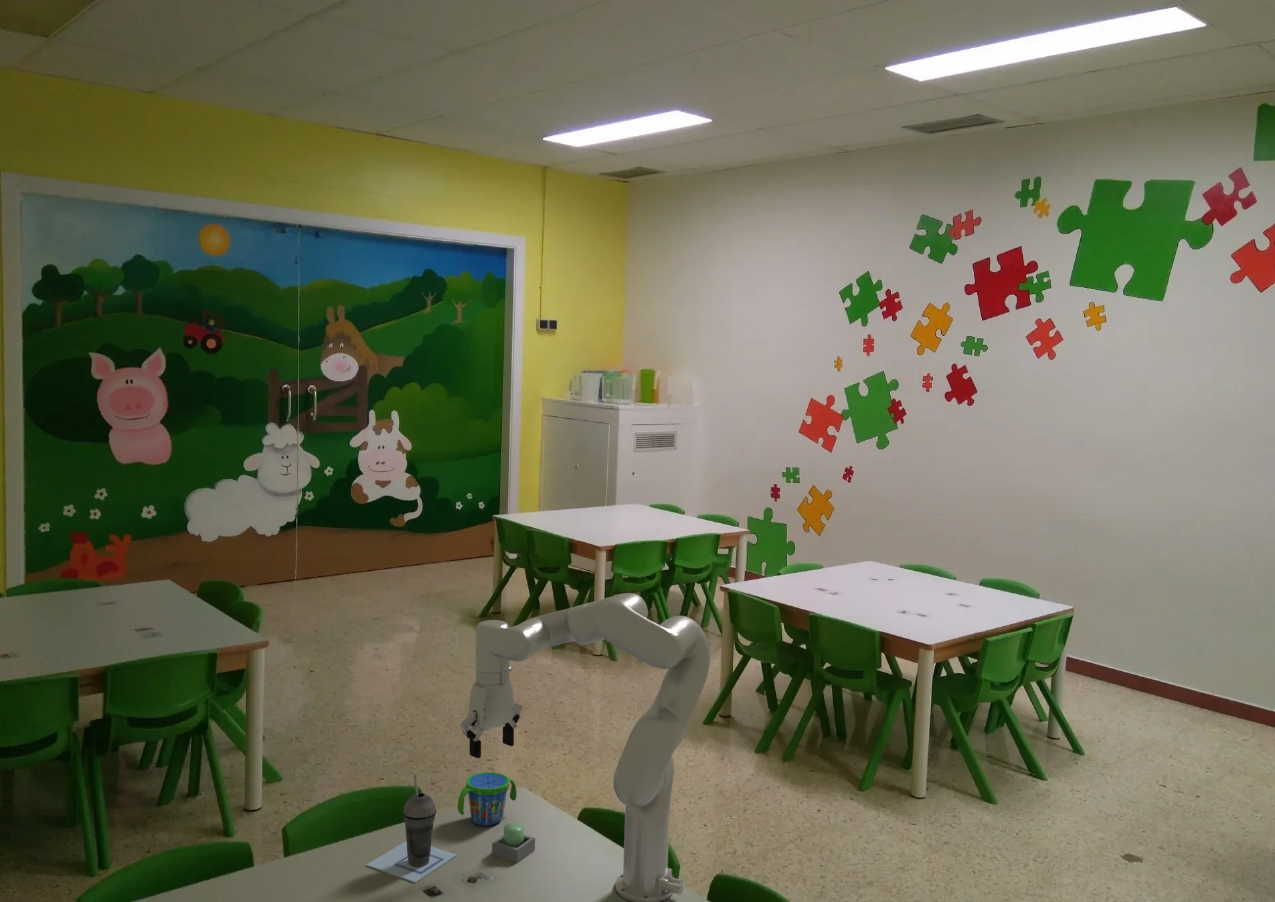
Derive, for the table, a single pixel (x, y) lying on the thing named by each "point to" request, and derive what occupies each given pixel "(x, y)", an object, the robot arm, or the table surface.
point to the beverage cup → (419, 827)
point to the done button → (514, 834)
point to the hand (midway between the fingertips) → (492, 750)
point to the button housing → (513, 849)
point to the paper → (399, 866)
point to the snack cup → (486, 797)
